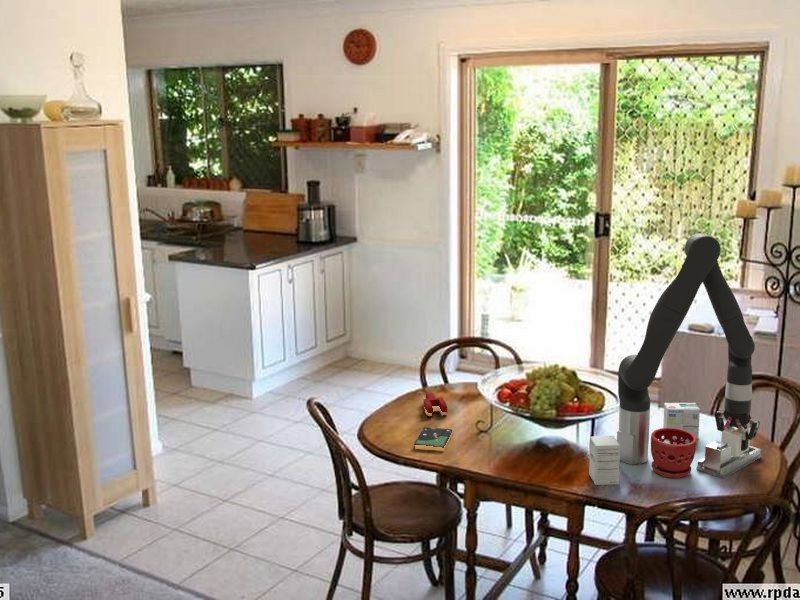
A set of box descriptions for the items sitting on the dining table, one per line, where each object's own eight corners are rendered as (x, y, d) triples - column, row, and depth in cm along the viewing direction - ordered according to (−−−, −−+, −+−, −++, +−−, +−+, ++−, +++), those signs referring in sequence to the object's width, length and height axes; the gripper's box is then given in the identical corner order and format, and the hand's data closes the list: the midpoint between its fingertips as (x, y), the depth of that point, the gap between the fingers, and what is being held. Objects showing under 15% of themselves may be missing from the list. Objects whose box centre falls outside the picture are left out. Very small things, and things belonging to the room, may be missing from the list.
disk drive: (423, 434, 291) (413, 451, 277) (423, 426, 291) (413, 443, 277) (453, 436, 289) (444, 453, 275) (452, 428, 288) (444, 445, 274)
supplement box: (588, 474, 255) (589, 435, 252) (612, 473, 255) (614, 435, 252) (594, 485, 248) (595, 445, 245) (619, 484, 248) (620, 444, 245)
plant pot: (642, 473, 254) (643, 437, 252) (661, 459, 264) (662, 424, 261) (683, 485, 246) (685, 447, 243) (701, 470, 255) (703, 433, 253)
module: (735, 457, 256) (737, 433, 255) (720, 452, 260) (721, 429, 259) (749, 449, 261) (750, 427, 260) (733, 445, 265) (735, 422, 263)
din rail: (723, 478, 249) (725, 451, 247) (696, 469, 256) (697, 443, 254) (760, 457, 263) (762, 432, 261) (733, 449, 270) (735, 424, 268)
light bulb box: (694, 432, 285) (695, 402, 282) (699, 439, 278) (700, 409, 276) (662, 431, 286) (663, 401, 283) (666, 439, 279) (667, 408, 277)
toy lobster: (447, 417, 305) (447, 404, 304) (428, 419, 304) (427, 406, 303) (437, 402, 320) (437, 390, 319) (419, 404, 319) (419, 392, 318)
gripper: (710, 393, 260) (707, 444, 264) (754, 404, 249) (751, 457, 253) (722, 387, 264) (720, 437, 268) (767, 398, 254) (763, 450, 258)
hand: (735, 447), depth 261 cm, fingers closed on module, 5 cm apart
